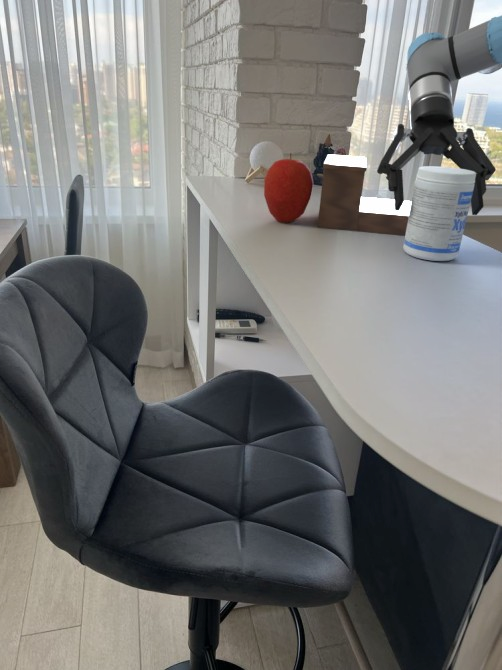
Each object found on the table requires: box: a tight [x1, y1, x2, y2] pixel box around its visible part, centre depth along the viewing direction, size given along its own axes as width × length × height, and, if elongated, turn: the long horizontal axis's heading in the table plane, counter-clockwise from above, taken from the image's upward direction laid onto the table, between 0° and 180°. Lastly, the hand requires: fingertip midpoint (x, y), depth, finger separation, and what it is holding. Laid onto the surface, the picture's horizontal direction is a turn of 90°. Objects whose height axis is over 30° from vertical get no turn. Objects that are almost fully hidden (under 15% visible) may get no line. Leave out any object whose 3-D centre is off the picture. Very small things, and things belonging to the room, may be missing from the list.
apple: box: [263, 152, 315, 224], centre depth 105 cm, size 10×10×14 cm
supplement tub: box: [402, 165, 476, 262], centre depth 88 cm, size 10×10×15 cm
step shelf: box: [317, 154, 412, 237], centre depth 107 cm, size 21×16×13 cm
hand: (438, 208), depth 87 cm, fingers open, 13 cm apart
